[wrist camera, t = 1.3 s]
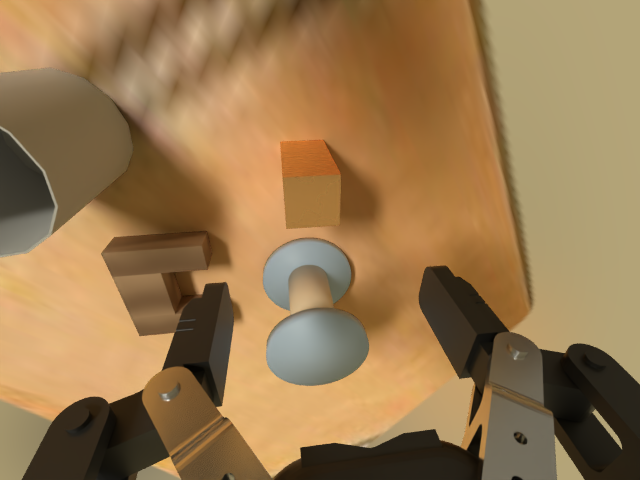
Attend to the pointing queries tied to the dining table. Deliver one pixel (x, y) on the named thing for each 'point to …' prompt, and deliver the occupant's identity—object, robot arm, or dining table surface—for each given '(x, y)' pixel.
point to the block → (310, 184)
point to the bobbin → (312, 314)
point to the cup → (54, 152)
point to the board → (155, 275)
